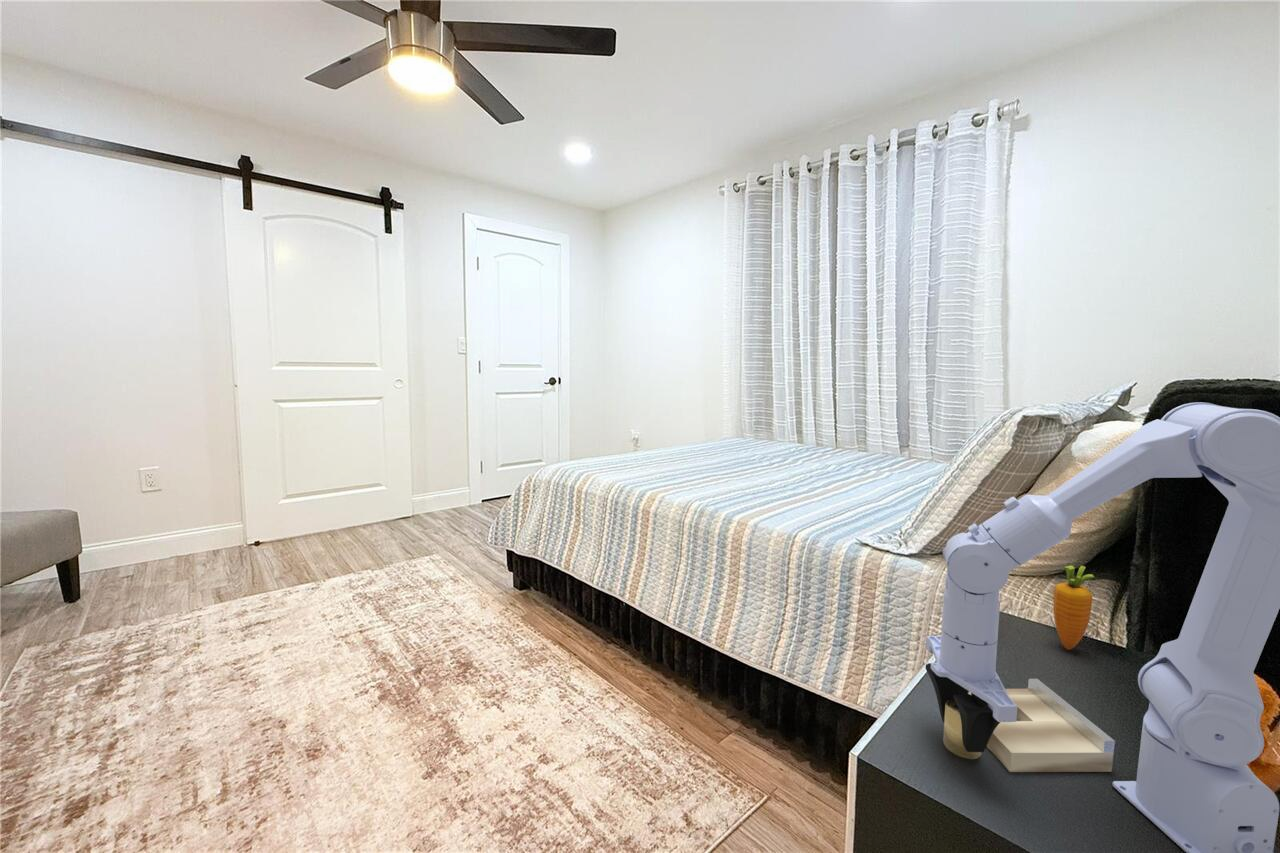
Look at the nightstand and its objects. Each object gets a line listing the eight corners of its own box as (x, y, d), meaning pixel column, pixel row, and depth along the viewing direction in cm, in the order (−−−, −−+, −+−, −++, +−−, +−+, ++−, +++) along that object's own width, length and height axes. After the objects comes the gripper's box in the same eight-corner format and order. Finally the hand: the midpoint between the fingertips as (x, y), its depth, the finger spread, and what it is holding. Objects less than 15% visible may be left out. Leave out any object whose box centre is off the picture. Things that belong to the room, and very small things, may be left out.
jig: (1111, 771, 61) (1115, 740, 60) (1009, 772, 61) (1012, 741, 60) (1035, 704, 73) (1037, 678, 72) (950, 705, 73) (951, 679, 72)
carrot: (1072, 642, 88) (1080, 559, 87) (1095, 658, 84) (1103, 571, 82) (1042, 641, 89) (1049, 558, 87) (1062, 657, 84) (1070, 570, 82)
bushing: (988, 758, 62) (991, 720, 61) (955, 759, 62) (957, 720, 61) (967, 735, 66) (970, 698, 65) (936, 735, 66) (938, 698, 65)
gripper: (905, 605, 69) (901, 698, 71) (973, 668, 55) (966, 783, 56) (957, 604, 69) (952, 698, 71) (1040, 667, 55) (1030, 783, 56)
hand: (962, 736), depth 64 cm, fingers closed on bushing, 4 cm apart
